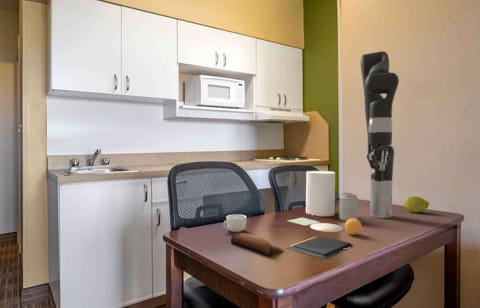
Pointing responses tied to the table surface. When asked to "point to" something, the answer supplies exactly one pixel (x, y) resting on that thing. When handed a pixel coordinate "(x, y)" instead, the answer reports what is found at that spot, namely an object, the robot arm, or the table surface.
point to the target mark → (326, 227)
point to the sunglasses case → (256, 243)
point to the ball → (353, 226)
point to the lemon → (416, 204)
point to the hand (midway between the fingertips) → (378, 181)
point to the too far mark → (303, 221)
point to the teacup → (235, 223)
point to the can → (348, 206)
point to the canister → (320, 193)
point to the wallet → (320, 247)
